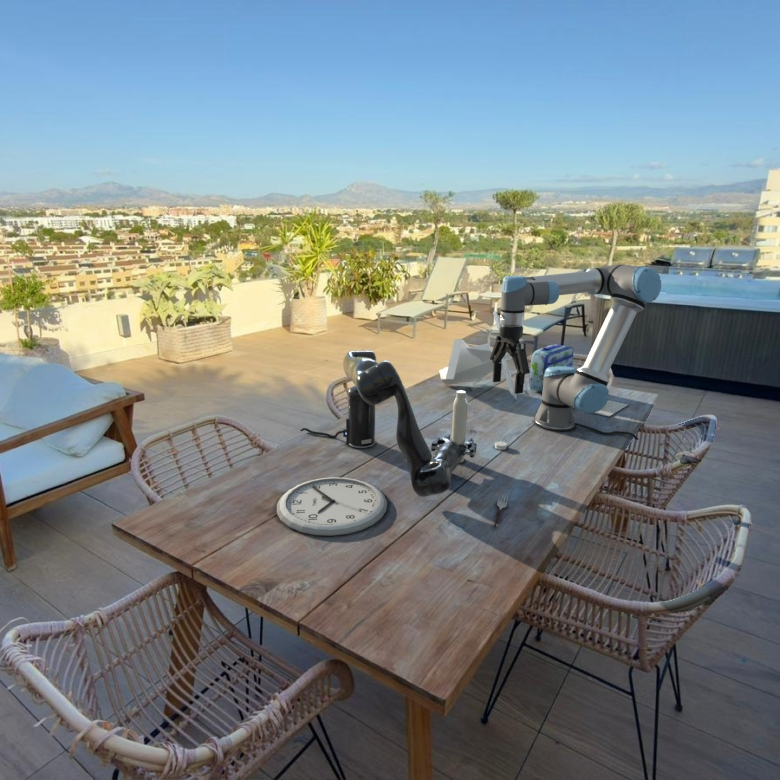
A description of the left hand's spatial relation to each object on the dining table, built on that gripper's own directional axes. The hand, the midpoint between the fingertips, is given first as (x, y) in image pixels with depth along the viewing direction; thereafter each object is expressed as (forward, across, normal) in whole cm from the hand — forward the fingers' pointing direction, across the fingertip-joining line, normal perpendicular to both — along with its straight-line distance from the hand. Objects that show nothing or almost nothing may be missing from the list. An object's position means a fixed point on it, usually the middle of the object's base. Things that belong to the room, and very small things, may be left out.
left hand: (459, 438), depth 172 cm
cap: (+14, -12, +6) cm, 19 cm away
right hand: (+14, -12, -15) cm, 24 cm away
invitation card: (+75, -45, +7) cm, 88 cm away
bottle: (-2, 0, +7) cm, 7 cm away
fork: (-31, -19, +7) cm, 37 cm away
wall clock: (-44, +24, +7) cm, 51 cm away
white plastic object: (+74, +8, +7) cm, 75 cm away
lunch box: (+93, -22, +7) cm, 96 cm away
